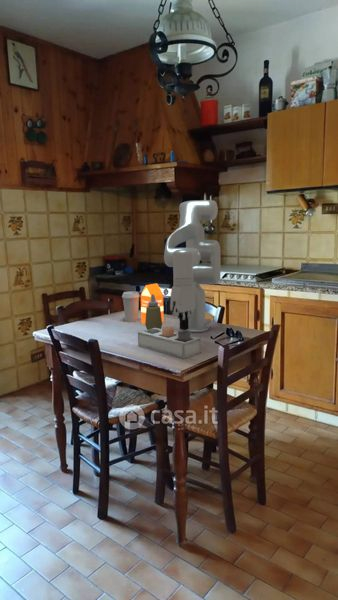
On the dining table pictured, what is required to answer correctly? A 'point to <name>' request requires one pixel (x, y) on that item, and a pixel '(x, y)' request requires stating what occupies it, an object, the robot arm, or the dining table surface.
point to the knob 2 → (184, 335)
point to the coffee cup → (131, 305)
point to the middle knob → (167, 332)
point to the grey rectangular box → (169, 344)
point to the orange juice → (147, 298)
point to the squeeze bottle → (153, 314)
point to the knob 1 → (152, 331)
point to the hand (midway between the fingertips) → (184, 328)
